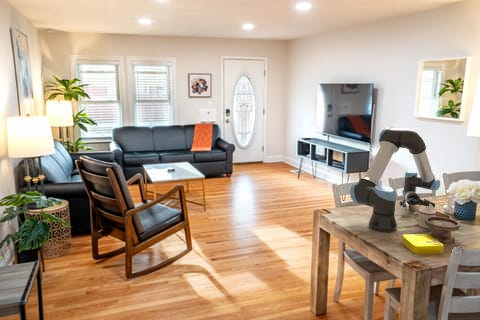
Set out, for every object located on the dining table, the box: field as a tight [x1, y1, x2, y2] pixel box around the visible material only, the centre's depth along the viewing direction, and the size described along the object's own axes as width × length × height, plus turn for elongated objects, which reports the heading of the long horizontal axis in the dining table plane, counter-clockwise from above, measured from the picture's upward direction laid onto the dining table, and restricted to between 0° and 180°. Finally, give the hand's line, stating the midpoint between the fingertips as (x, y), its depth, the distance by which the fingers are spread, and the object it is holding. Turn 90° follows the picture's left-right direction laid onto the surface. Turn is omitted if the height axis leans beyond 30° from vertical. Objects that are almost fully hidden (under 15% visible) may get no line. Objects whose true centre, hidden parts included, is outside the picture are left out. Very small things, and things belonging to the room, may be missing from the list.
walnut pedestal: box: [425, 215, 461, 244], centre depth 198 cm, size 16×16×9 cm
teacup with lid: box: [412, 206, 437, 229], centre depth 216 cm, size 12×9×12 cm
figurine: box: [442, 193, 455, 215], centre depth 238 cm, size 7×9×15 cm
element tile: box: [401, 233, 445, 255], centre depth 188 cm, size 15×15×5 cm
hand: (420, 208), depth 225 cm, fingers open, 13 cm apart
